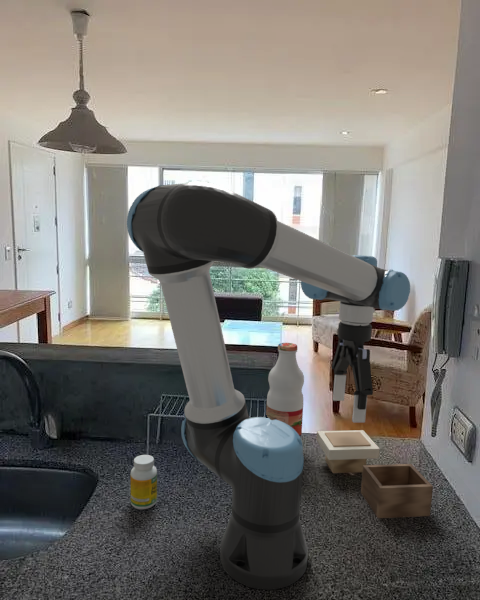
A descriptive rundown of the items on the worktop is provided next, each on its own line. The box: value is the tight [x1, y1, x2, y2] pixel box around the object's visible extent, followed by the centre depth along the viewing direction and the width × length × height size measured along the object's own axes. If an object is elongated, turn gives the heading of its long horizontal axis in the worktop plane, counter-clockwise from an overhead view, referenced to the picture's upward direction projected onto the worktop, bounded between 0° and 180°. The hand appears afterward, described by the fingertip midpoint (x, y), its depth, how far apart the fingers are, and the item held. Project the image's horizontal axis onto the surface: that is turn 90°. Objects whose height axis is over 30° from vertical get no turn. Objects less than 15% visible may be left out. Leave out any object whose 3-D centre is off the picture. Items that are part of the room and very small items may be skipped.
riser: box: [324, 455, 368, 474], centre depth 112 cm, size 8×6×5 cm
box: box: [360, 463, 434, 519], centre depth 97 cm, size 11×9×7 cm
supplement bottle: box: [129, 454, 158, 510], centre depth 95 cm, size 5×5×10 cm
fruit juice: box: [265, 342, 305, 439], centre depth 119 cm, size 9×9×28 cm
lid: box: [315, 429, 381, 460], centre depth 111 cm, size 12×10×3 cm
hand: (347, 410), depth 110 cm, fingers open, 13 cm apart
